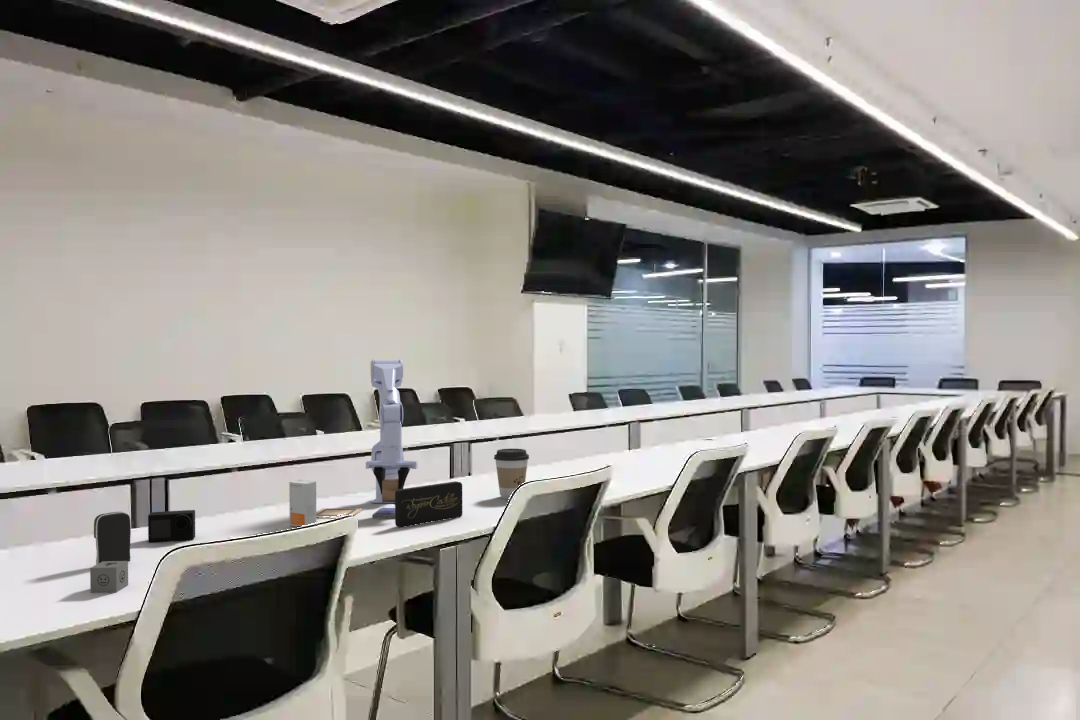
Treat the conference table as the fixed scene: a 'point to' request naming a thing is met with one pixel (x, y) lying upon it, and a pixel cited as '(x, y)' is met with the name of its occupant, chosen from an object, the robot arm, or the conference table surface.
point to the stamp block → (389, 489)
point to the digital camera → (171, 526)
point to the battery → (112, 537)
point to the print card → (336, 511)
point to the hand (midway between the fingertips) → (391, 493)
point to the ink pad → (384, 513)
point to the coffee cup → (510, 469)
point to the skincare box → (302, 502)
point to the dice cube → (109, 577)
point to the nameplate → (428, 503)
